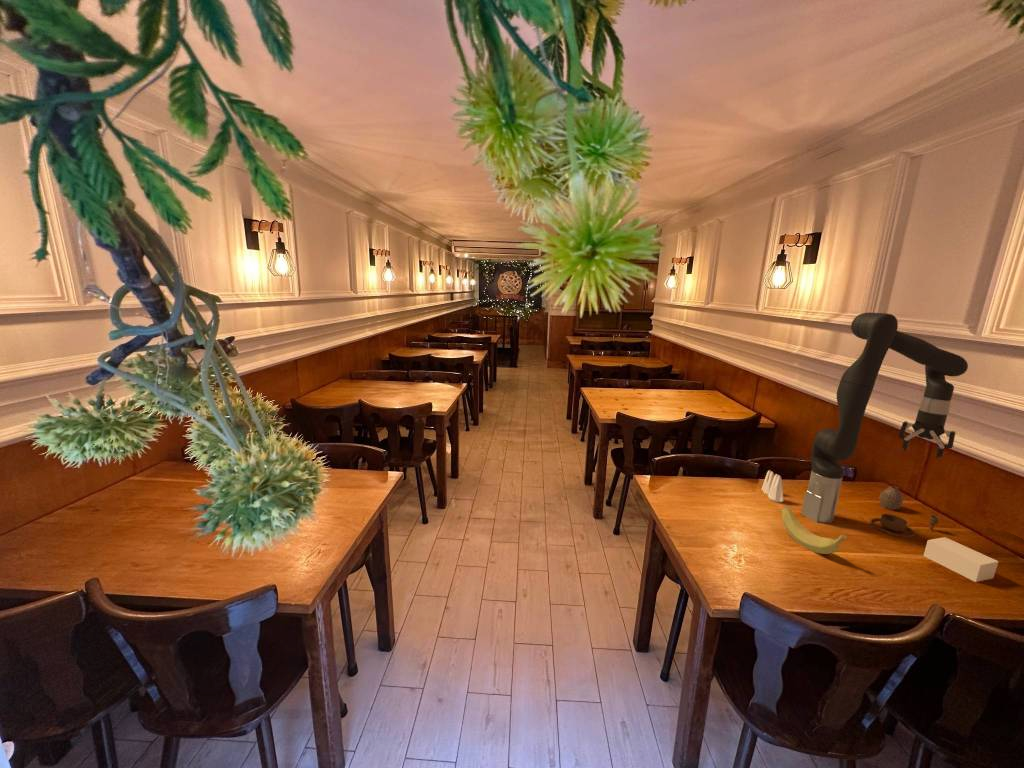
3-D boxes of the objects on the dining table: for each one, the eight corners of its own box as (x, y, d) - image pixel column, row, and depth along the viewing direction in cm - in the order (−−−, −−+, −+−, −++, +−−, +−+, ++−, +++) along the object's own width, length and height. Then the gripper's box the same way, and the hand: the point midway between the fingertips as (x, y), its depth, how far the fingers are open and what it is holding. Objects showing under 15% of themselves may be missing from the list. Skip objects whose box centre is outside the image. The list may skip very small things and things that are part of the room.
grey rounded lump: (905, 512, 168) (910, 491, 166) (887, 511, 168) (892, 490, 166) (890, 503, 174) (895, 483, 172) (873, 503, 174) (878, 482, 172)
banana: (795, 547, 148) (856, 556, 129) (783, 548, 146) (843, 558, 127) (788, 505, 150) (847, 509, 132) (776, 506, 149) (834, 510, 130)
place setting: (864, 515, 165) (867, 501, 164) (933, 530, 156) (937, 515, 155) (876, 537, 150) (880, 522, 149) (953, 555, 141) (958, 539, 140)
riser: (975, 583, 126) (980, 565, 125) (923, 557, 138) (927, 540, 137) (992, 579, 128) (998, 561, 127) (940, 553, 141) (944, 537, 139)
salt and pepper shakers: (783, 505, 169) (788, 479, 167) (771, 504, 170) (776, 478, 167) (771, 492, 180) (775, 467, 178) (760, 490, 181) (764, 466, 179)
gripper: (905, 407, 156) (893, 449, 159) (960, 417, 145) (947, 462, 149) (908, 404, 161) (897, 445, 164) (962, 414, 150) (949, 458, 154)
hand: (921, 453), depth 156 cm, fingers open, 8 cm apart
